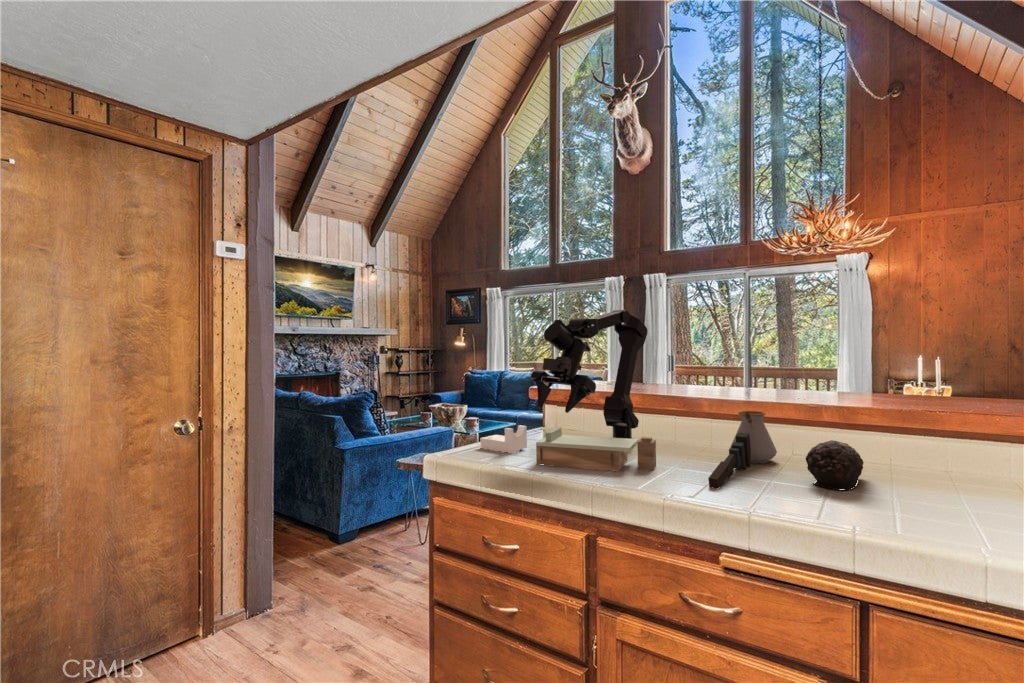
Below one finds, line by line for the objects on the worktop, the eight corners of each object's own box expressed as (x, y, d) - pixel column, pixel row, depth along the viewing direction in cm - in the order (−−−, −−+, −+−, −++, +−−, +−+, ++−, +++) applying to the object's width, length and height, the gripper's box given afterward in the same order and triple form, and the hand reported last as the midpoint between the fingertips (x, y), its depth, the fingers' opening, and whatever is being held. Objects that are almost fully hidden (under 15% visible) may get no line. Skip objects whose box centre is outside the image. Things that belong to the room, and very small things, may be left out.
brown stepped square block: (640, 465, 138) (640, 435, 138) (656, 466, 137) (655, 436, 137) (637, 469, 135) (637, 438, 135) (653, 470, 133) (653, 439, 133)
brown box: (551, 455, 152) (550, 438, 152) (627, 460, 144) (627, 442, 144) (535, 465, 141) (535, 446, 141) (617, 472, 132) (617, 452, 132)
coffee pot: (732, 454, 149) (731, 401, 149) (778, 457, 144) (777, 402, 144) (722, 471, 131) (721, 411, 131) (773, 476, 125) (772, 413, 125)
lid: (550, 437, 152) (550, 426, 152) (638, 442, 143) (637, 430, 143) (536, 445, 141) (535, 433, 141) (629, 451, 132) (629, 438, 132)
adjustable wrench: (709, 507, 118) (740, 462, 137) (722, 509, 117) (751, 464, 136) (706, 472, 117) (738, 432, 136) (718, 474, 115) (749, 433, 134)
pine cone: (867, 477, 123) (866, 434, 123) (858, 495, 109) (857, 447, 109) (816, 470, 130) (815, 430, 130) (801, 487, 116) (801, 442, 116)
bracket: (527, 450, 161) (526, 425, 161) (511, 454, 156) (511, 429, 156) (496, 445, 170) (495, 422, 170) (480, 449, 165) (480, 425, 165)
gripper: (529, 343, 147) (509, 393, 142) (584, 346, 135) (565, 402, 130) (550, 361, 155) (532, 410, 150) (604, 366, 142) (587, 419, 137)
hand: (552, 410), depth 141 cm, fingers open, 9 cm apart
